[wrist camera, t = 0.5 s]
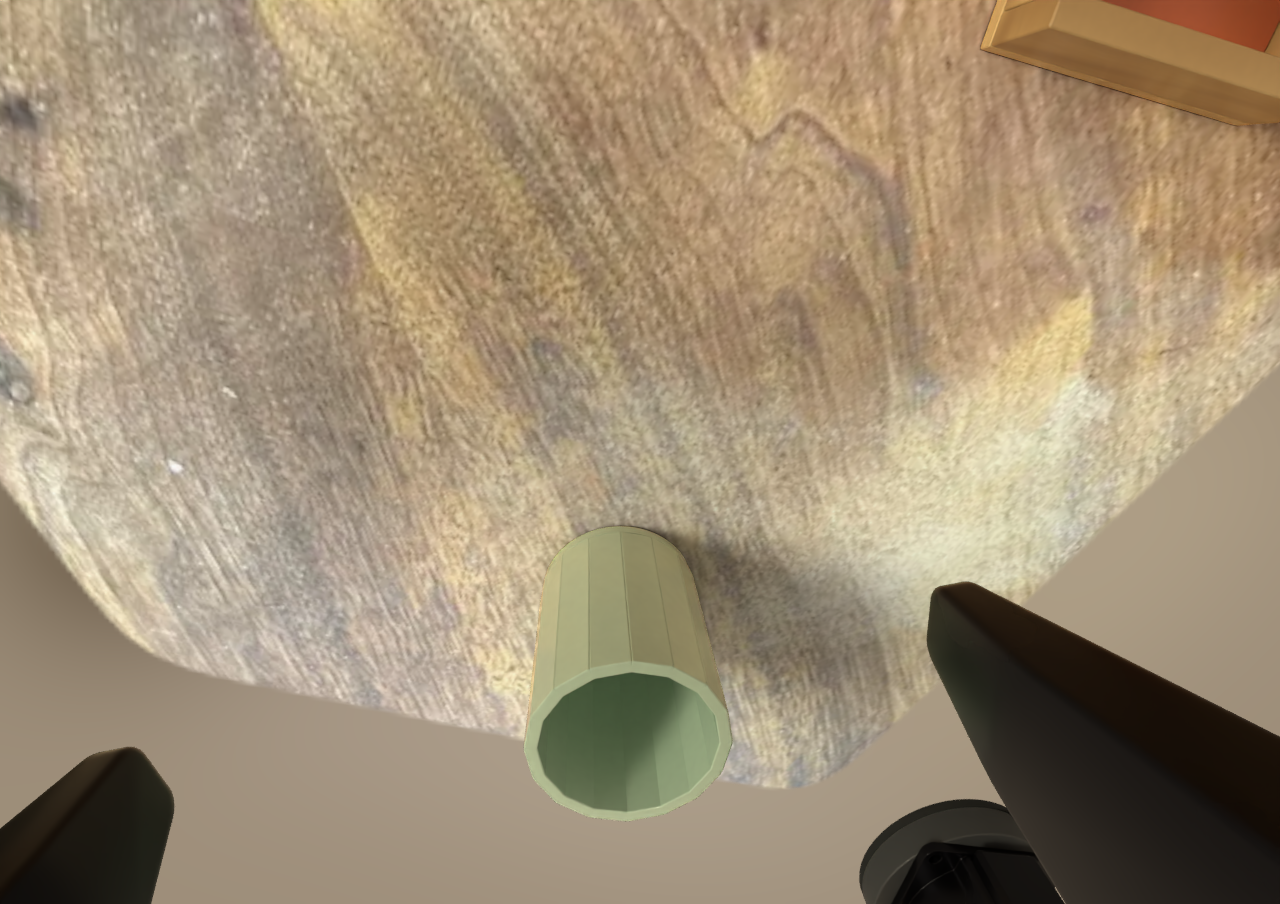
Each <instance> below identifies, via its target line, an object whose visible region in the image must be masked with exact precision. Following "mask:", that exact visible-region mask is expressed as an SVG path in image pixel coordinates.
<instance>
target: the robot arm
mask: <svg viewBox="0 0 1280 904" xmlns="http://www.w3.org/2000/svg"><path fill="white" fill-rule="evenodd" d="M927 647H928V651H929V654H930V657H931V659H932V662H933V664H934V666H935V668H936V670H937V672H938V674H939V676H940V678H941V680H942V682H943V684H944V686H945V688H946V691H947V693H948V695H949V697H950V699H951V701H952V703H953V705H954V707H955V709H956V711H957V713H958V715H959V717H960V719H961V721H962V724H963V726H964V728H965V730H966V732H967V734H968V736H969V738H970V740H971V742H972V744H973V746H974V748H975V750H976V752H977V754H978V757H979V759H980V761H981V763H982V765H983V767H984V768H985V770H986V772H987V774H988V776H989V778H990V780H991V782H992V784H993V785H994V787H995V789H996V791H997V792H998V794H999V796H1000V797H1001V799H1002V800H1003V802H1004V804H1005V806H1006V807H1007V809H1008V811H1009V812H1010V814H1011V815H1012V817H1013V819H1014V820H1015V822H1016V824H1017V825H1018V827H1019V828H1020V830H1021V832H1022V833H1023V835H1024V837H1025V838H1026V840H1027V841H1028V843H1029V845H1030V846H1031V848H1032V850H1033V851H1034V852H1024V851H1015V850H1005V849H996V848H987V847H977V846H968V845H959V844H949V843H940V842H930V843H927V844H925V845H924V846H922V847H921V849H920V850H919V852H918V854H917V856H916V858H915V860H914V862H913V863H912V865H911V867H910V869H909V871H908V873H907V875H906V877H905V879H904V881H903V882H902V884H901V886H900V888H899V890H898V892H897V894H896V896H895V898H894V900H893V902H892V903H891V904H1065V903H1066V904H1280V737H1279V736H1277V735H1275V734H1273V733H1271V732H1269V731H1267V730H1265V729H1263V728H1261V727H1259V726H1257V725H1255V724H1254V723H1252V722H1250V721H1248V720H1246V719H1244V718H1242V717H1239V716H1237V715H1236V714H1234V713H1232V712H1230V711H1228V710H1225V709H1224V708H1222V707H1220V706H1218V705H1216V704H1214V703H1212V702H1210V701H1208V700H1206V699H1204V698H1202V697H1200V696H1198V695H1196V694H1194V693H1192V692H1190V691H1188V690H1186V689H1184V688H1182V687H1180V686H1178V685H1176V684H1174V683H1172V682H1170V681H1168V680H1166V679H1164V678H1162V677H1160V676H1158V675H1156V674H1154V673H1152V672H1150V671H1148V670H1146V669H1144V668H1142V667H1140V666H1138V665H1136V664H1134V663H1132V662H1130V661H1128V660H1126V659H1124V658H1122V657H1120V656H1118V655H1116V654H1114V653H1112V652H1110V651H1108V650H1106V649H1104V648H1102V647H1100V646H1098V645H1096V644H1094V643H1092V642H1091V641H1089V640H1086V639H1085V638H1082V637H1081V636H1079V635H1077V634H1075V633H1073V632H1071V631H1068V630H1067V629H1065V628H1063V627H1061V626H1059V625H1057V624H1055V623H1053V622H1051V621H1049V620H1047V619H1045V618H1043V617H1041V616H1038V615H1037V614H1035V613H1033V612H1031V611H1029V610H1027V609H1025V608H1023V607H1021V606H1019V605H1017V604H1015V603H1013V602H1011V601H1009V600H1007V599H1005V598H1003V597H1001V596H999V595H997V594H995V593H993V592H991V591H989V590H987V589H985V588H983V587H981V586H979V585H977V584H975V583H972V582H959V583H954V584H949V585H944V586H939V587H937V588H935V590H934V591H933V593H932V596H931V602H930V611H929V620H928V630H927ZM173 814H174V798H173V794H172V791H171V790H170V788H169V786H168V785H167V784H166V782H165V781H164V780H163V778H162V777H161V776H160V774H159V773H158V771H157V770H156V769H155V767H154V766H153V765H152V763H151V762H150V761H149V759H148V758H147V757H146V755H145V754H144V753H143V752H142V751H141V750H140V749H137V748H135V747H124V748H118V749H113V750H109V751H103V752H99V753H96V754H93V755H91V756H89V757H87V758H86V759H84V760H83V761H82V762H81V763H79V764H78V765H77V766H76V767H75V768H73V769H72V770H71V771H70V772H68V773H67V774H66V775H65V776H64V777H62V778H61V779H60V780H59V781H58V782H56V783H55V784H54V785H53V786H52V787H50V788H49V789H48V790H47V791H45V792H44V793H43V794H42V795H40V796H39V797H38V798H37V799H36V800H35V801H33V802H32V803H31V804H30V805H28V806H27V807H26V808H25V809H23V810H22V811H21V812H20V813H19V814H17V815H16V816H15V817H14V818H13V819H11V820H10V821H9V822H8V823H6V824H5V825H4V826H3V827H2V828H1V829H0V904H151V902H152V897H153V894H154V890H155V886H156V882H157V878H158V874H159V870H160V866H161V862H162V859H163V854H164V851H165V847H166V843H167V839H168V835H169V831H170V827H171V823H172V819H173ZM1055 887H1056V888H1057V890H1058V892H1059V893H1060V895H1061V897H1062V898H1063V900H1064V901H1065V903H1064V902H1063V900H1062V899H1061V897H1060V896H1059V894H1058V893H1057V891H1056V890H1055Z"/></svg>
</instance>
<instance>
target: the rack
mask: <svg viewBox="0 0 1280 904" xmlns="http://www.w3.org/2000/svg"><path fill="white" fill-rule="evenodd" d="M981 49H982V50H984V51H988V52H991V53H994V54H998V55H1001V56H1005V57H1008V58H1011V59H1015V60H1018V61H1021V62H1025V63H1028V64H1031V65H1035V66H1038V67H1041V68H1045V69H1048V70H1051V71H1055V72H1058V73H1061V74H1065V75H1068V76H1072V77H1075V78H1078V79H1082V80H1085V81H1088V82H1092V83H1095V84H1098V85H1102V86H1105V87H1108V88H1112V89H1115V90H1118V91H1122V92H1125V93H1128V94H1132V95H1135V96H1138V97H1142V98H1145V99H1149V100H1152V101H1155V102H1159V103H1162V104H1165V105H1169V106H1172V107H1175V108H1179V109H1182V110H1185V111H1189V112H1192V113H1195V114H1199V115H1202V116H1205V117H1209V118H1212V119H1215V120H1219V121H1222V122H1226V123H1229V124H1232V125H1236V126H1241V125H1251V124H1265V123H1278V122H1280V0H997V3H996V6H995V9H994V12H993V14H992V17H991V20H990V23H989V25H988V28H987V31H986V34H985V37H984V39H983V42H982V45H981Z"/></svg>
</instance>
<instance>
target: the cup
mask: <svg viewBox="0 0 1280 904" xmlns="http://www.w3.org/2000/svg"><path fill="white" fill-rule="evenodd" d="M732 741H733V740H732V733H731V727H730V720H729V713H728V709H727V705H726V701H725V697H724V694H723V690H722V686H721V682H720V678H719V674H718V671H717V667H716V663H715V659H714V655H713V651H712V647H711V644H710V640H709V636H708V632H707V628H706V624H705V620H704V617H703V613H702V609H701V605H700V601H699V597H698V593H697V590H696V586H695V582H694V578H693V575H692V573H691V571H690V568H689V566H688V563H687V562H686V560H685V558H684V557H683V555H682V554H681V553H680V552H679V550H678V549H677V548H676V547H675V546H673V545H672V544H671V543H670V542H669V541H667V540H666V539H664V538H663V537H661V536H659V535H657V534H655V533H653V532H650V531H647V530H645V529H640V528H636V527H628V526H612V527H604V528H600V529H596V530H593V531H590V532H588V533H585V534H583V535H581V536H579V537H577V538H576V539H574V540H573V541H571V542H570V543H568V544H567V545H566V546H565V547H564V548H563V549H561V550H560V552H559V553H558V554H557V555H556V556H555V557H554V559H553V560H552V562H551V564H550V565H549V567H548V570H547V572H546V574H545V578H544V581H543V589H542V595H541V600H540V607H539V616H538V625H537V634H536V643H535V651H534V660H533V669H532V678H531V687H530V695H529V704H528V713H527V722H526V731H525V740H524V752H525V755H526V759H527V762H528V764H529V768H530V771H531V774H532V777H533V779H534V781H535V782H536V783H537V784H538V785H539V786H540V787H541V788H542V789H543V790H544V791H545V792H546V793H547V794H548V795H549V796H550V797H551V798H552V799H553V800H554V801H555V802H557V803H558V804H560V805H562V806H564V807H567V808H569V809H571V810H573V811H575V812H578V813H580V814H582V815H585V816H587V817H591V818H599V819H609V820H617V821H633V820H638V819H643V818H648V817H654V816H660V815H664V814H667V813H669V812H671V811H673V810H675V809H677V808H679V807H681V806H683V805H685V804H687V803H688V802H690V801H692V800H694V799H696V798H697V797H699V796H700V795H701V794H702V793H703V792H704V791H705V790H706V789H707V788H708V787H709V786H710V784H711V783H712V782H713V781H714V780H715V779H716V778H717V777H718V776H719V775H720V774H721V772H722V771H723V768H724V765H725V762H726V760H727V757H728V754H729V751H730V748H731V746H732Z"/></svg>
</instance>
